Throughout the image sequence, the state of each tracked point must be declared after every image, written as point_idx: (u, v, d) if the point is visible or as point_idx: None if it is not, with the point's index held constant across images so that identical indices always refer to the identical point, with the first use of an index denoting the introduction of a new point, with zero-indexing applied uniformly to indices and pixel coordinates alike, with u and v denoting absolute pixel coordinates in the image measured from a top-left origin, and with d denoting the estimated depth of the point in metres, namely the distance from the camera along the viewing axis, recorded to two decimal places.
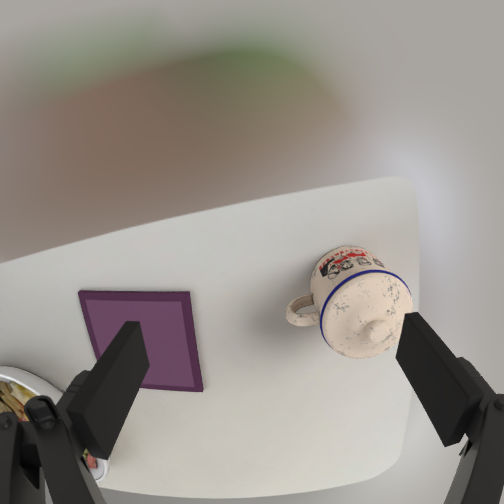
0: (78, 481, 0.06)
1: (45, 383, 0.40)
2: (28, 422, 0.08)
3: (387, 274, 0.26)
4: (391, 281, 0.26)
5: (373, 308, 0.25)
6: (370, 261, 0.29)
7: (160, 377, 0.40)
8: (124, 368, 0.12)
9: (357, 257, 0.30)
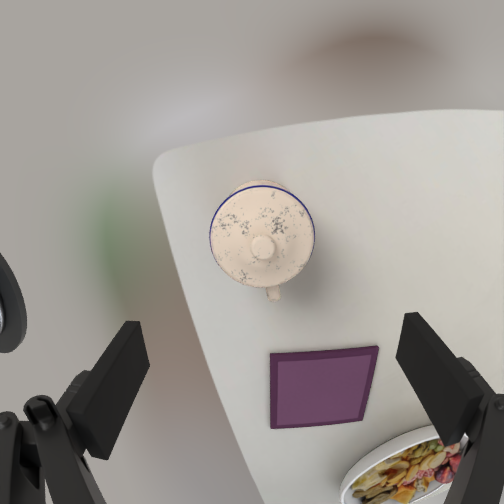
0: (78, 481, 0.06)
1: (357, 463, 0.47)
2: (28, 422, 0.08)
3: (211, 226, 0.27)
4: (216, 224, 0.27)
5: (240, 249, 0.26)
6: None
7: (357, 380, 0.42)
8: (124, 368, 0.12)
9: None
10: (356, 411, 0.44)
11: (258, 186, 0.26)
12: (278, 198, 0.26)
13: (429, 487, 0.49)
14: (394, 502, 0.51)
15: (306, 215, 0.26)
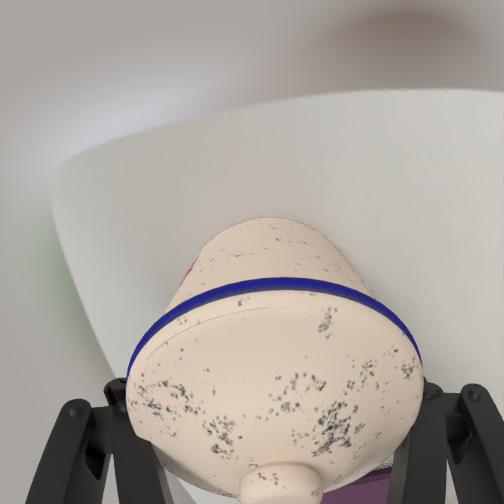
0: (149, 468, 0.07)
1: None
2: (99, 408, 0.10)
3: None
4: (135, 398, 0.07)
5: (209, 477, 0.07)
6: None
7: None
8: None
9: None
10: None
11: (269, 285, 0.07)
12: (344, 336, 0.07)
13: None
14: None
15: (418, 371, 0.07)
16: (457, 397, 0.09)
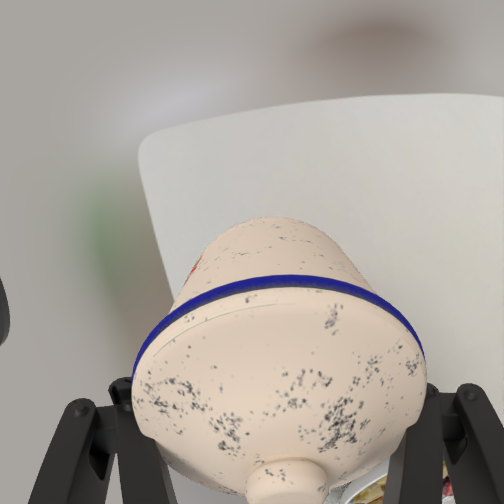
0: (153, 468, 0.07)
1: None
2: (103, 408, 0.10)
3: (133, 391, 0.08)
4: (141, 396, 0.07)
5: (215, 474, 0.07)
6: None
7: None
8: None
9: None
10: None
11: (276, 283, 0.07)
12: (350, 333, 0.07)
13: None
14: None
15: (421, 367, 0.07)
16: (453, 397, 0.09)
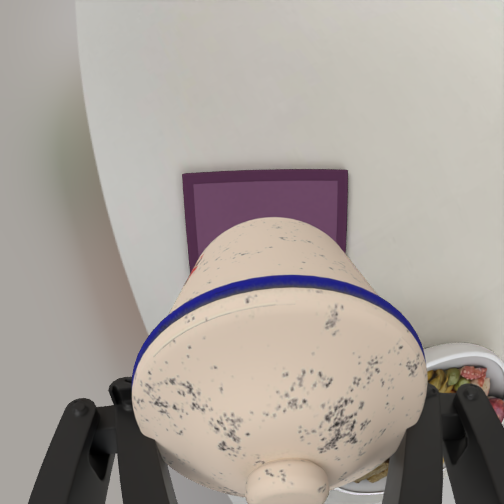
0: (153, 468, 0.07)
1: None
2: (104, 408, 0.10)
3: (133, 391, 0.08)
4: (142, 396, 0.07)
5: (216, 475, 0.07)
6: None
7: (321, 230, 0.29)
8: None
9: None
10: None
11: (276, 283, 0.07)
12: (350, 333, 0.07)
13: None
14: None
15: (422, 368, 0.07)
16: (453, 397, 0.09)
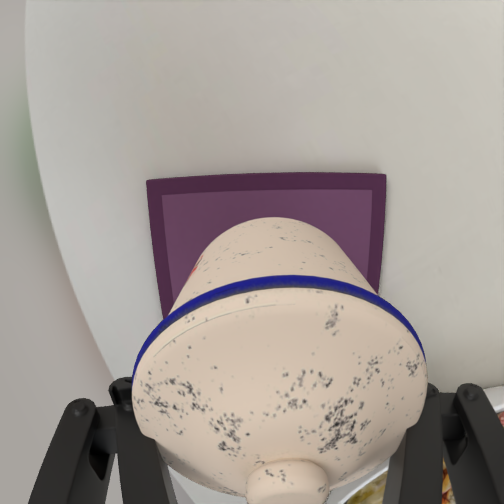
0: (153, 468, 0.07)
1: None
2: (104, 408, 0.10)
3: (133, 391, 0.08)
4: (142, 396, 0.07)
5: (216, 475, 0.07)
6: None
7: None
8: None
9: None
10: None
11: (277, 283, 0.07)
12: (350, 333, 0.07)
13: None
14: None
15: (422, 368, 0.07)
16: (453, 397, 0.09)
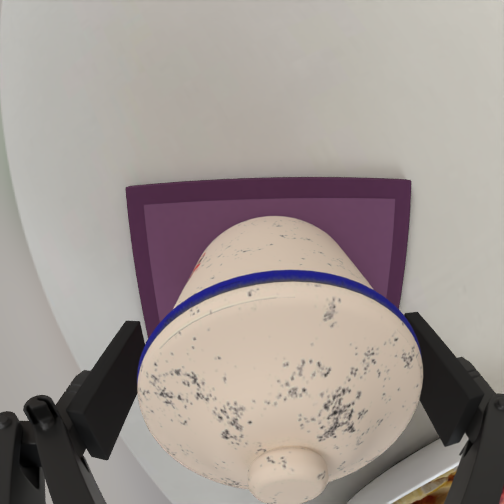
0: (78, 481, 0.06)
1: (364, 491, 0.22)
2: (28, 422, 0.08)
3: None
4: (147, 388, 0.08)
5: (218, 464, 0.07)
6: None
7: None
8: (124, 368, 0.12)
9: None
10: None
11: (277, 277, 0.08)
12: (347, 325, 0.07)
13: None
14: None
15: (417, 360, 0.08)
16: None
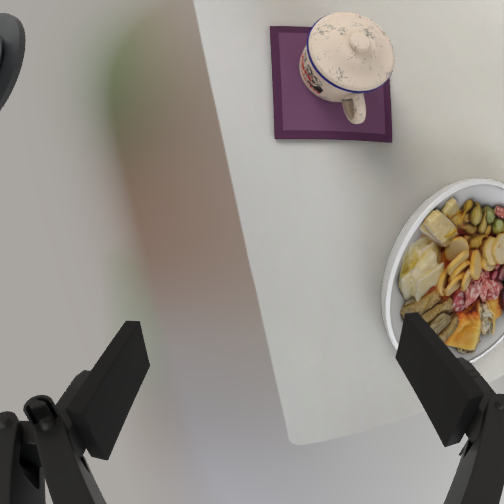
0: (78, 481, 0.06)
1: (400, 232, 0.38)
2: (28, 422, 0.08)
3: (309, 35, 0.25)
4: (315, 32, 0.24)
5: (339, 46, 0.24)
6: (305, 49, 0.28)
7: None
8: (124, 368, 0.12)
9: (303, 61, 0.30)
10: (381, 121, 0.35)
11: None
12: (364, 19, 0.24)
13: (494, 331, 0.41)
14: None
15: (386, 35, 0.24)
16: None
